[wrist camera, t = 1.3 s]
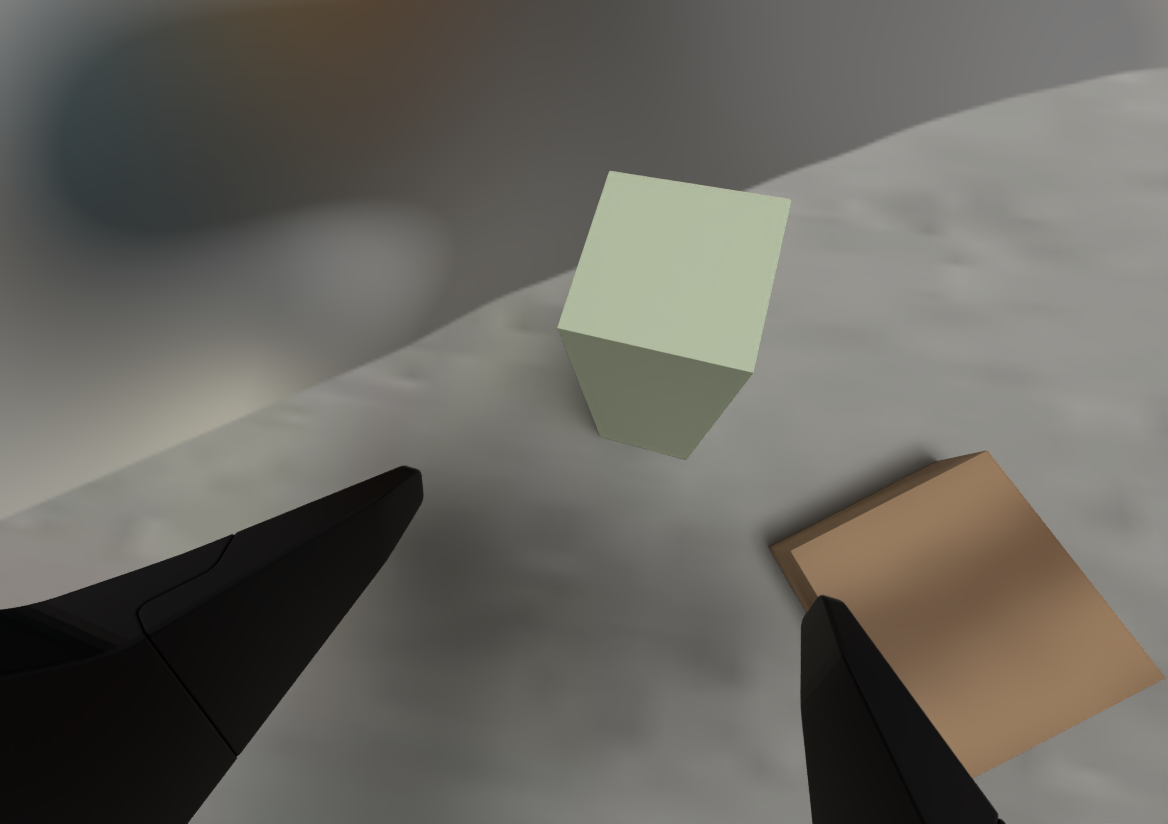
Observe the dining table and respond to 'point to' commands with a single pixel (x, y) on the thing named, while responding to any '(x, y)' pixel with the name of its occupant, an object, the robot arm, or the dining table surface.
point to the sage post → (670, 306)
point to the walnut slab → (972, 608)
